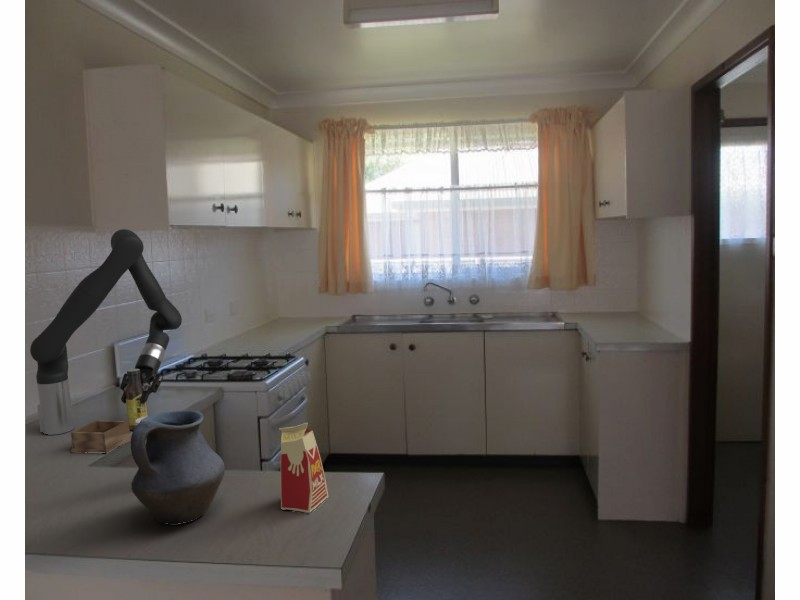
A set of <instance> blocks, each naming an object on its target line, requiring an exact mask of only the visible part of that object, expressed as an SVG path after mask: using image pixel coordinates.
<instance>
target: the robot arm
mask: <svg viewBox="0 0 800 600" xmlns="http://www.w3.org/2000/svg"><path fill="white" fill-rule="evenodd" d="M110 247H111V249H112V250H111V251H110V253H109V255H107V257H106V258H105V260H104V261H103V263H102V264H101V265H100V266H98V268H96V269H94V270H93V271H92V272H91V273H89V274H88V275H86V276H85V277H84V278H83V279H82V280H80V281H79V283H78V284H77V285H76V287H75V288H74V289H73V290H72V291H71V293H70V294H69V296H68V297H67V299H66V300H65V302H64V303H63V305H62V306H61V308H60V309H59V311H58V313H57V314H56V315H55V317H54V318H53V320H52V321H51V322H50V323H49V325H48V326H46V328H44V330H43V331H42V332H41V333H40V334H39V335H37V337H35V339H34V340H33V341H32V342H31V343H30V344H31V345H30V348H29V349H30V350H29V351H30V355H31V358H32V359H33V360H34V361H35V362H37V371H36V375H35V377H36V385H37V387H36V388H37V394H38V401H39V404H37V415H38V422H39V429H40V430H39V431H40V433H41V432H43V433H44V434H43V433H42V434H43V435H45V434H48V435H47V436H51V435H52V436H54V435H61V434H65V433H67V432H71V431H72V430H73V431H74V429H75V425H74V418H73V407H72V399H71V392H70V383H69V374H68V373H69V361H68V359H69V358H68V357H69V356H68V350H67V343H68V342H69V340H70V339H71V337H72V335H73V334H74V333H75V332H76V331H78V329H79V328H80V327H81V326H82V325H83V324H85V322H86V321H87V320H88V319H90V318H91V316H92V315H93V314H95V312H96V310H98V308H99V307H100V306H101V304H102V303H103V302H104V300H105V299H106V298H107V297H108V295H109V294H110V293H111V291H112V290H113V289H114V287H115V286H116V284H117V283H118V282H119V280H120V279H121V277H122V276H123V275H124V274H125V273H126V272H127V271H129V273H130V275H131V277H132V279H133V281H134V282H135V285H136V287H137V289H138V291H139V293H140V295H141V297H142V299H143V301H144V303H145V305H146V306H147V308H148V309H149V310H151V311H154V313H153V314H152V316H151V318H150V322H149V328H148V329H149V332H148V337H147V339H146V341H145V344H144V345H143V347H142V349H141V351H140V354H139V356H138V359H137V361H136V363H135V366H134V369H140V380H141V384H142V386H143V388H144V391H143V393H142V396H141V398H140V402H141V403H142V404H145V402H146V403H147V401H148V399H149V397H150V395H151V394H153V393H154V394H155V393H157V392H158V389H159V387H160V386H161V383H162V382H163V379H164V378H163V376H162V375H161V373H158V372H159V370H160V368H161V365H162V362H163V360H164V357H165V352H166V351H167V347H168V345H169V342H170V336H169V335H168V333H166V332H164V331H172V330H174V331H175V330H177V329H180V327H181V325H182V323H183V322H182V320H183V319H182V315H181V313H180V311H179V310H178V309H177V307H176V306H174V304H173V303H172V302H171V301H170V300H169V299H168V297H166V294H165V293H164V290H163V288H162V287H161V285H160V283H159V282H158V280H157V278H156V277H155V275H154V274H153V271H152V270H151V269H150V267H149V266H148V264H147V261H146V259H145V258H144V255H143V253H144V242H143V240H142V239H141V238H140V237H139V236H138V234H136V233H135V232H134V231H132V230H131V229H126V228H124V229H123V228H122V229H118V230H117V231H115V232H114V233H113V234H112V236H111V238H110ZM128 385H129V384H128V375H127V372H126V373H123V377H122V379H121V383H120V386H119V389H120V390H121V391H122V392H123V393H122V395H121V397H120V399H121V402H122V403H123V404H126V393H125V392H126V389H127V387H128Z"/></svg>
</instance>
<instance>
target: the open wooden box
mask: <svg viewBox="0 0 800 600" xmlns="http://www.w3.org/2000/svg"><path fill="white" fill-rule="evenodd" d="M130 431H131V430H130V429H129V421H128V420H102V419H101V420H100V419H99V420H98V419H97V420H95V421H92V422H90V423H87V424H85V425H84V426H81V427H80V428H77V429H75V430H73V431H72V432H71V431H70V436H71V445H72V447H71V448H70V453H71V452H81V453H80V454H89V453H88V452H105V453H107V452H109V451H110V450H112V449H114V448H116V447H118V446H120V445H121V444H124V443H126V442H128V441H130V442H131V437H132V435H131V432H130ZM128 443H129V442H128ZM126 444H127V443H126ZM124 445H125V444H124ZM85 452H87V453H85Z"/></svg>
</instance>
